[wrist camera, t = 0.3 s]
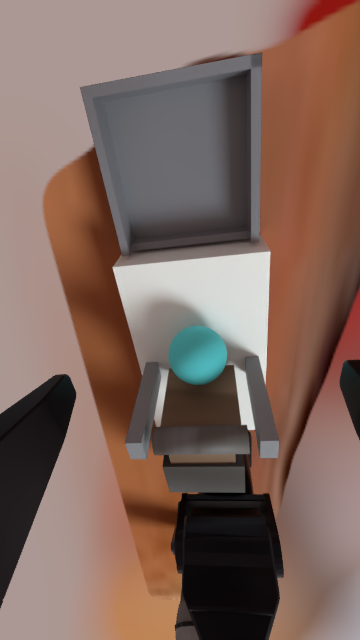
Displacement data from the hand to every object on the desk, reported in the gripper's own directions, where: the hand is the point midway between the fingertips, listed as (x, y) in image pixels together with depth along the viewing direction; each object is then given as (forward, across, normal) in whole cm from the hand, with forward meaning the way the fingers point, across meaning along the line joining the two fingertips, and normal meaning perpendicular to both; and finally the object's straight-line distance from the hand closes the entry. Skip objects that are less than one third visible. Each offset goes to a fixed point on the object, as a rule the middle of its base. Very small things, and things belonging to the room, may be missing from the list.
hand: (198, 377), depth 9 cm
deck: (+14, +1, +8) cm, 16 cm away
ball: (+8, +1, +6) cm, 10 cm away
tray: (+14, +1, -5) cm, 15 cm away
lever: (+10, +1, +10) cm, 14 cm away
